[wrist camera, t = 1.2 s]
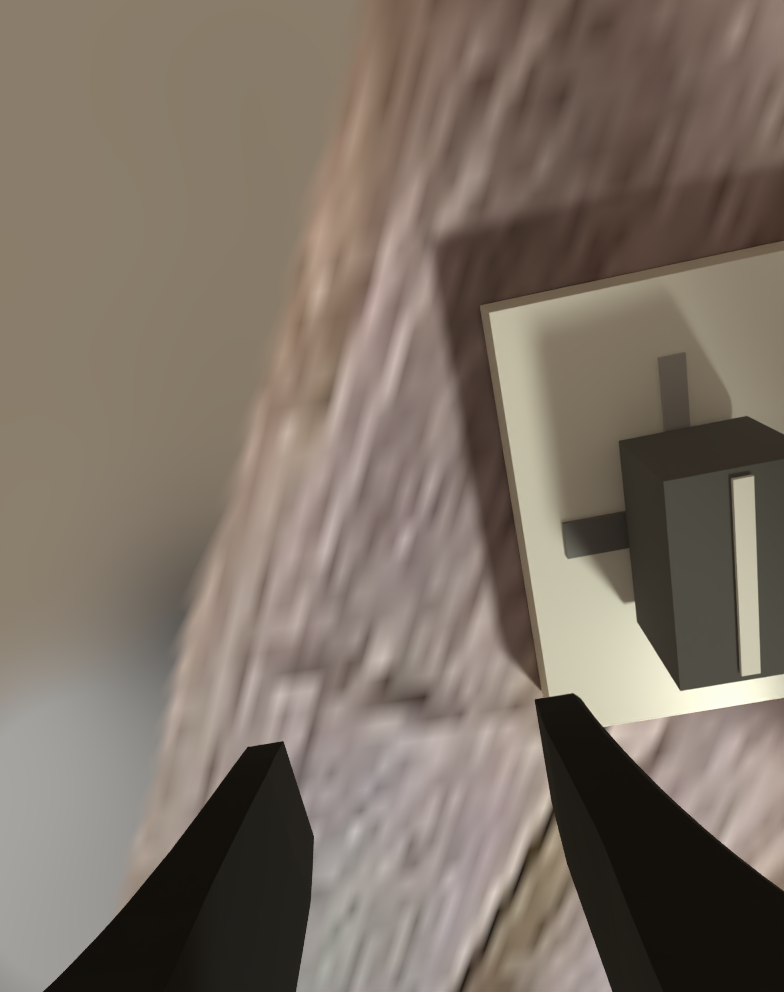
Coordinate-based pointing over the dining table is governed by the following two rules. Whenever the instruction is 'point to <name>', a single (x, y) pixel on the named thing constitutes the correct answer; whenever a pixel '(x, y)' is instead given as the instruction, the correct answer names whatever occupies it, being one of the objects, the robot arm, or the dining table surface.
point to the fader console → (596, 457)
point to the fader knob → (708, 548)
